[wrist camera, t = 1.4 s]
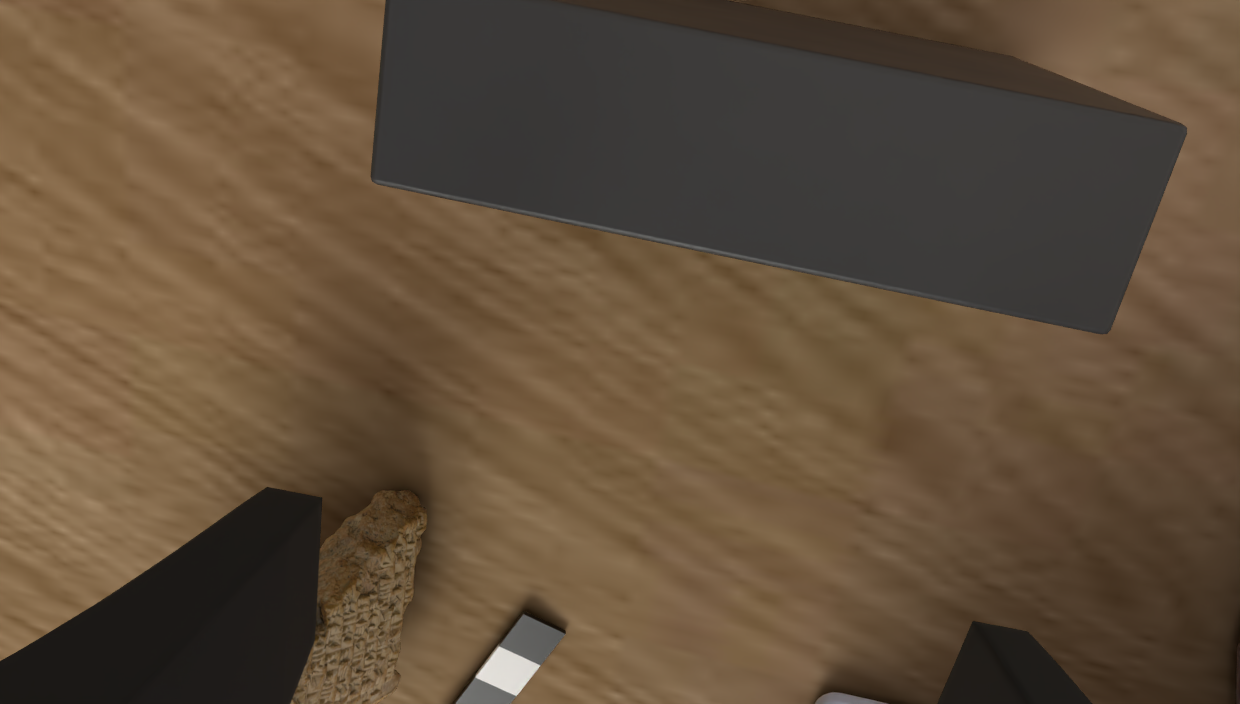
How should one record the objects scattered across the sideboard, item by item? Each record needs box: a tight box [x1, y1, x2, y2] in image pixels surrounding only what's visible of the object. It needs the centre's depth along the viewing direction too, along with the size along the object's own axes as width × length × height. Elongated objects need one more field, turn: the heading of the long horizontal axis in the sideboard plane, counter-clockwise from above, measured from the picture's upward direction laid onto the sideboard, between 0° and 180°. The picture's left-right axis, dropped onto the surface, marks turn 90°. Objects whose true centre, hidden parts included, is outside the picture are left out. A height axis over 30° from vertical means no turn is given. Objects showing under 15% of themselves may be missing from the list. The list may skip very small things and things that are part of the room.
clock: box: [371, 0, 1187, 334], centre depth 15 cm, size 3×9×8 cm, turn 80°
